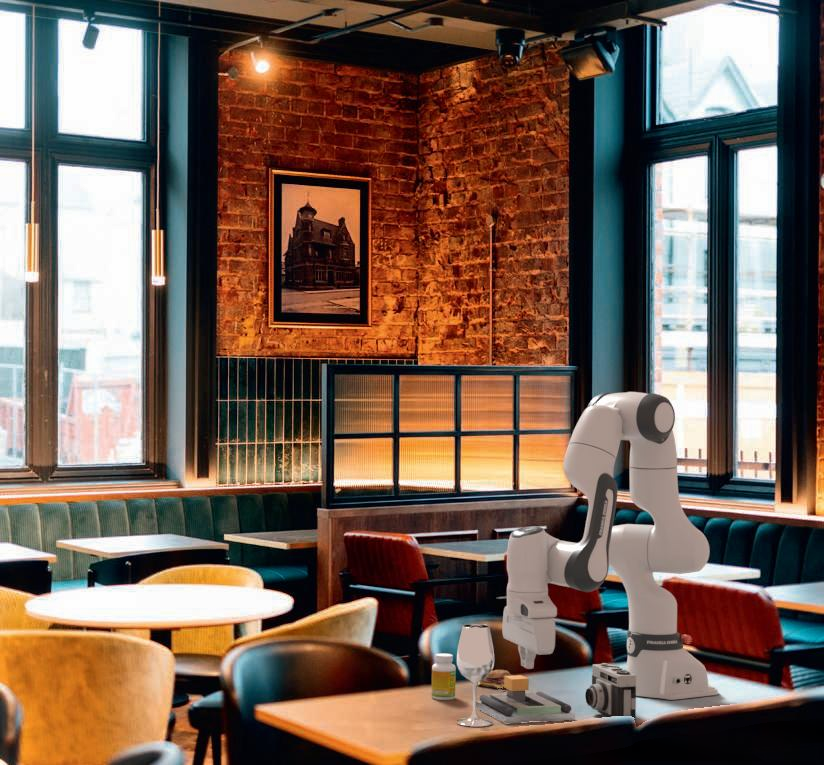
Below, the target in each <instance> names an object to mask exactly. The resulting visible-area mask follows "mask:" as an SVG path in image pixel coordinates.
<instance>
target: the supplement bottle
mask: <svg viewBox="0 0 824 765" xmlns="http://www.w3.org/2000/svg"><path fill="white" fill-rule="evenodd" d="M453 658H454V655H453V654H451V653H435V656H434V660H435V663H434V664H432V666H431V694H430V695H431V698H432V699H434V700H437V701H450V700H451V701H452V700H454V699H455V698H456V685H457V684H456V682H457V681H456V678H457V676H456V674H457V672H456V670H457V669H456V668H457V666H456V665H455V664H453V663H452V662H453V661H454V659H453Z"/></svg>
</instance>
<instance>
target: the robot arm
mask: <svg viewBox="0 0 824 765" xmlns="http://www.w3.org/2000/svg"><path fill="white" fill-rule="evenodd" d="M675 421H676V413H675V409H674V406H673V405H672V403H671V401H670V399H669V398H667V397H666V396H664V395H661V394H657V393H653V392H651V393H646V392H640V391H639V392H638V391H627V392H614V393H612V392H604V393H600V394H598V395H595V396H594V397H593V398H592V399H591V400H590V402H589V403H588V405H587V407H586V408H585V409H584V410H583V411H582V414H581V415H580V417H579V419H578V421H577V422H576V425H575V427H574V429H573V430H572V434H571V436H570V439H569V442H568V446H567V448H566V449H565V450H566V451H565V453H564V457H563V463H562V469H563V473H564V476H565V477H566V479H567V481H568V482H569V483H570V485H572V486H573V487H574V488H576V489H577V490H579V492H581V493H582V494H583V495H585V497H586V498H587V501H588V509H587V516H586V520H585V525H584V526H585V527H584V532H583V536H582V539H581V540H580V541H579V542H572V541H566V540H560V539H559V538H556V537H554V536H553V535H550V534H549V533H547V532H546V531H545V529H544V528H543V527H540V526H537V525H536V526H535V525H533V526H532V525H531V526H524V527H519V528H516V529H515V530H513V531H512V532H511V533H510V535H509V539H508V541H507V542H508V543H507V551H506V571H507V576H508V581H507V582H508V583H507V586H506V606H504V608H503V616H502V627H501V628H502V636H503V639H505V640H507V641H510V642H511V643H513V644H516V645H517V649H518V654H519V657H520V666H521V667H523V668H525V669H527V670H531V669H534V667H535V659H536V656H537V655H539V656H540V655H551V654H553V652H554V650H555V647H556V620H555V617H557V615H558V608H557V606H556V605H555V604H554V603H553V601H552V600H551V598H550V596H549V588H548V587H549V586H548V584H552V585H557V586H560V587H561V586H562V587H567V588H571V589H574V590H578V591H581V592H584V593H590V592H594V591H595V590H597V589H598V588H599V587H600V586H602V584H603V583H604V582H605V580H606V579H607V576H608V573H609V568H610V569H612V570H613V571H614V573H615V574H616V575H617V576H618V578H619V579H620V581H621V582H622V585H623V587H624V589H625V592H626V596H627V601H628V602H627V604H628V630H627V631H626V653H627V658H626V659H627V660H626V668H625V670H626V671H628V672H630V673H632V674H635V675H636V687H635V688H636V697H643V698H655V699H662V700H668V701H671V700H682V699H684V700H685V699H689V698H690V699H692V698H693V699H694V698H699V697H709V696H717V695H719V694H718V693H719V692H718V691H719V690H718V689H717V687H715V686H713V685H710V684H709V677H708V672H707V669H706V667H705V665H704V664H703V663H702V662H701V661H700V660H698V659H697V658H696V657H694V656H693V655H692V654H691V653H689V652H688V651H687V649H685V647H684V644H686V645H689V644H692V642H693V641H692V640H693V637H691V635H689V634H682V633H680V632H678V603H677V599H676V597H675V596H674V595H673V594H672V592H670V591H669V590H667V589H666V588H664V587H662V586H660V585H659V584H658V583H657V581H656V580H655V577H654V574H653V573H662V574H663V573H664V574H675V575H677V574H679V575H683V574H690V573H696V572H700V571H702V570H703V568H704V567H706V564H707V562H708V561H709V558H710V554H711V553H710V551H711V550H710V544H709V541H708V539H707V537H706V536H705V535H704V533H703V532H702V531H701V530H699V529H698V528H697V527H696V526H695V525H694V524H693V523H692V522H691V521H690V519H689V518H688V517H687V515H686V513H685V511H684V510H683V507H682V505H681V501H680V495H679V484H678V482H679V480H678V455H677V447H676V446H677V445H676V440H675V435H674V430H673V429H674V426H675ZM621 441H629V443H630V449H629V497H630V500H631V501H632V503H634V505H635V506H637V507H638V508H639V509H641V510H642V511H645V512H647V513H648V515H650V516H651V518H652V520H653V522H654V523H653V524H654V525H653V524H638V523H637V524H635V523H634V524H633V523H625V524H619V525H614V520H615V514H616V508H617V503H618V502H617V501H618V483H617V481H616V479H615V478H614V469H615V468H614V467H615V463H616V461H617V460H616V459H617V457H618V453H619V448H620V444H621ZM683 643H684V644H683Z"/></svg>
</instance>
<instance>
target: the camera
mask: <svg viewBox="0 0 824 765" xmlns="http://www.w3.org/2000/svg"><path fill="white" fill-rule="evenodd" d="M591 672H592V673H591V684H590V685H589V687H588V688H587V689H586V691H585V696H584V697H585V702H586V705H588V707H591V709H592V710H596V711H598V712H600V713H602V714H604V715H605V716H607V717H609V716H632V717H634V718H635V720H636V718H637V716H636V715H637V714H636V712H637V710H636V709H637V702H636V701H637V696H636V688H635V687H636V675H635V674H632V673H630V672H628V671H626V669H623V668H622V667H620V666H617V665H614V664H610V663H606V662H602V663H597V664H596V663H595V664H594V663H593V664H592V671H591Z"/></svg>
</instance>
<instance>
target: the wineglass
mask: <svg viewBox="0 0 824 765" xmlns="http://www.w3.org/2000/svg"><path fill="white" fill-rule="evenodd" d="M494 652H495V651H494V644H493V639H492V633H491V628H490V626H489V625H487V624H479V623H476V624H475V623H469V624H464V625H462V629H461V632H460V637H459V641H458V646H457V652H456V667H457V669H458V671H459V673H460V675H461V676H463V677H464V678H465V679H466V680H469V681H471V684H472V713H471V715H470V716H469V717H462V718H458V719H456V721H455V723H456V724H458V725H460V726H462V727H468V726H470V727H469V728H485V727H489V726H491V725H493V720H491V719H488V718H485V717H484V718H483V717H480V716H478V713H477V709H476V701H477V691H478V689H477V688H478V682H479V681H481V680H483V679H485V678H486V677H487V676H488V675H489V674H490V673H491V671H493V669H494V666H495V653H494ZM484 726H485V727H484Z"/></svg>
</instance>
